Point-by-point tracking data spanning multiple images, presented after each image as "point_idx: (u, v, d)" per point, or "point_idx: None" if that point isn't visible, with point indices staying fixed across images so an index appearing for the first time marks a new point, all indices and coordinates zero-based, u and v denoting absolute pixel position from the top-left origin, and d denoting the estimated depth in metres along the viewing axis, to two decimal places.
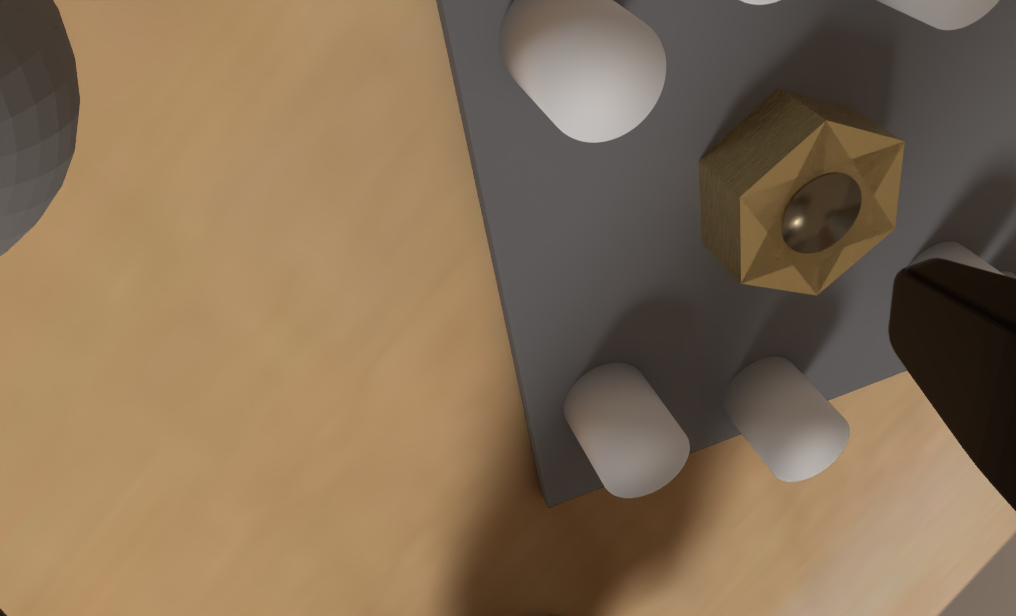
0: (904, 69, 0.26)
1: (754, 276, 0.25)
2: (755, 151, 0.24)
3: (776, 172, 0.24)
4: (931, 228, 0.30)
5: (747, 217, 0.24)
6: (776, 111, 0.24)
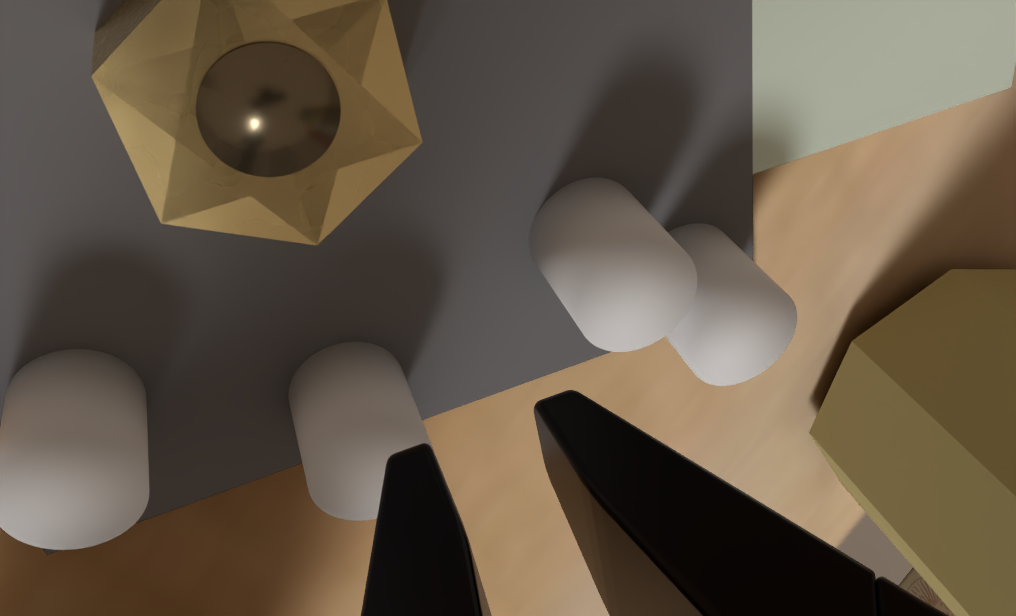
0: None
1: (182, 212, 0.16)
2: (137, 7, 0.15)
3: (148, 36, 0.15)
4: (559, 156, 0.21)
5: (123, 112, 0.15)
6: None
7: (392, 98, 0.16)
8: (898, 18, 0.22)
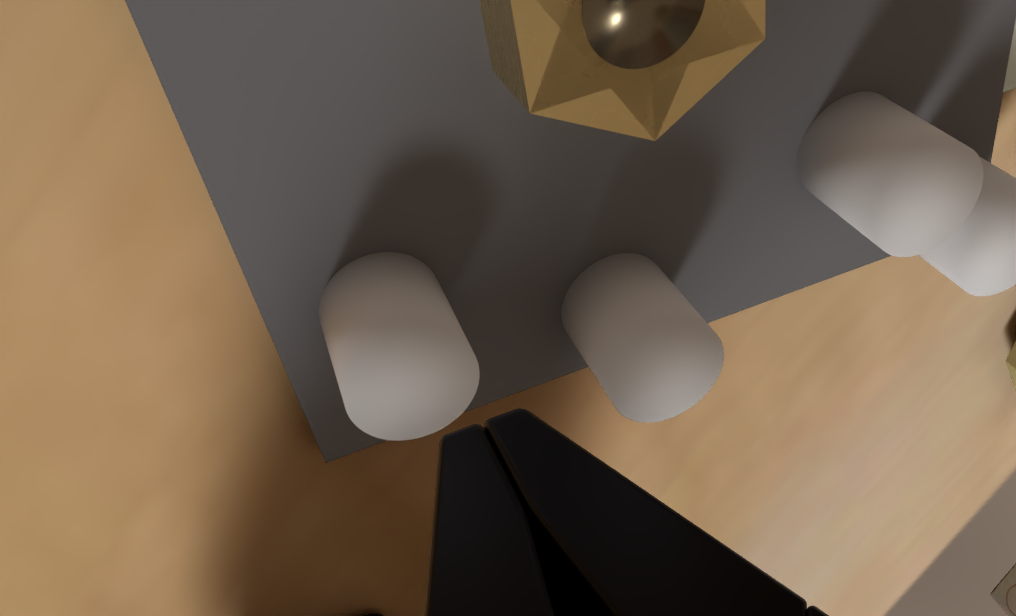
0: None
1: (550, 102, 0.17)
2: None
3: None
4: (839, 69, 0.21)
5: None
6: None
7: None
8: None
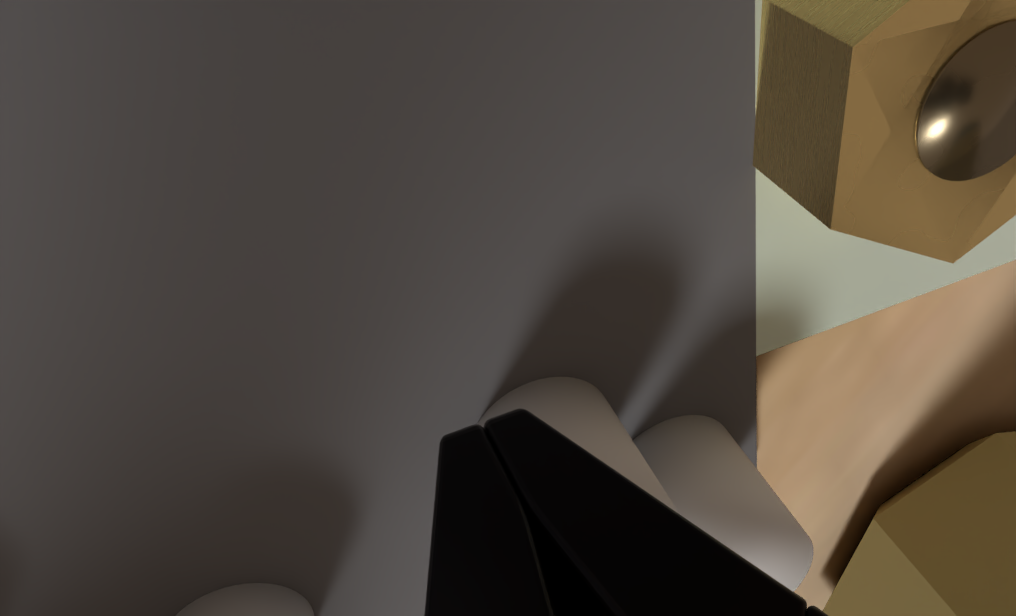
0: (304, 59, 0.12)
1: (855, 217, 0.14)
2: None
3: (925, 2, 0.12)
4: (504, 358, 0.16)
5: (859, 94, 0.12)
6: None
7: None
8: None
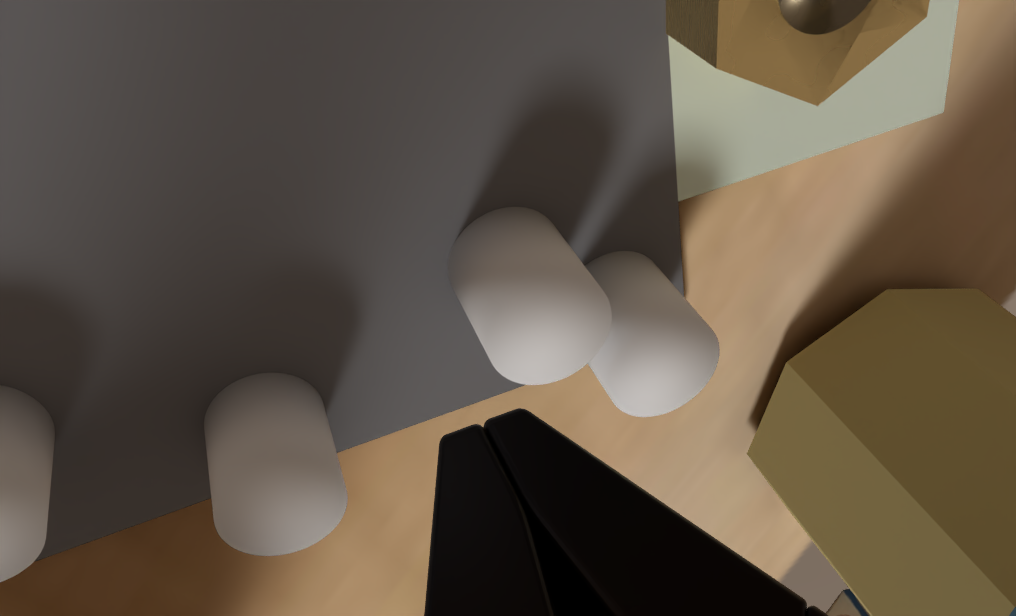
0: None
1: (735, 60, 0.18)
2: None
3: None
4: (475, 186, 0.21)
5: None
6: None
7: None
8: None
